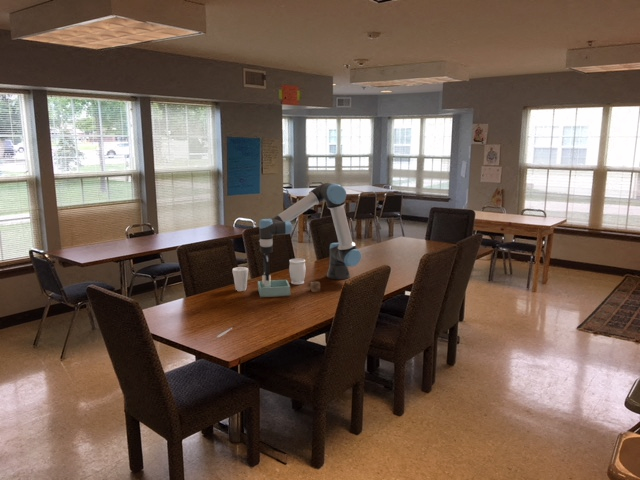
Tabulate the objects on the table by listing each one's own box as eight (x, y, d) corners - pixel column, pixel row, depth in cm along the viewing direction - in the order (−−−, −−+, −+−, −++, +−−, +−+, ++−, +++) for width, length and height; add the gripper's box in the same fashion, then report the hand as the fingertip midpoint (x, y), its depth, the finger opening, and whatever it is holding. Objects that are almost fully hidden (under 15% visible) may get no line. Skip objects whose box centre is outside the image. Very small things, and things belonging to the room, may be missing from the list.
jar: (303, 285, 318) (303, 262, 315) (287, 284, 320) (287, 261, 317) (307, 281, 328) (307, 258, 325) (291, 280, 330) (291, 257, 327)
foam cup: (252, 289, 310) (251, 268, 308) (241, 292, 303) (241, 271, 300) (240, 286, 316) (239, 266, 313) (230, 290, 308) (229, 269, 306)
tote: (287, 288, 312) (286, 279, 311) (290, 295, 297) (290, 286, 296) (258, 289, 309) (257, 281, 308) (260, 297, 293) (259, 288, 292)
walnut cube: (318, 289, 310) (318, 281, 309) (320, 291, 305) (320, 283, 304) (310, 289, 309) (310, 281, 308) (312, 292, 304) (312, 284, 303)
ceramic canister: (270, 285, 304) (270, 274, 303) (271, 288, 299) (271, 276, 298) (261, 286, 303) (261, 274, 302) (262, 288, 298) (262, 276, 297)
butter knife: (213, 336, 234) (219, 336, 233) (243, 318, 259) (248, 318, 258) (213, 337, 234) (219, 338, 233) (243, 319, 259) (248, 320, 258)
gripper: (258, 243, 305) (259, 280, 309) (260, 248, 287) (261, 288, 291) (271, 242, 306) (271, 280, 310) (274, 248, 289) (274, 288, 293)
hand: (266, 284), depth 301 cm, fingers closed on ceramic canister, 5 cm apart
